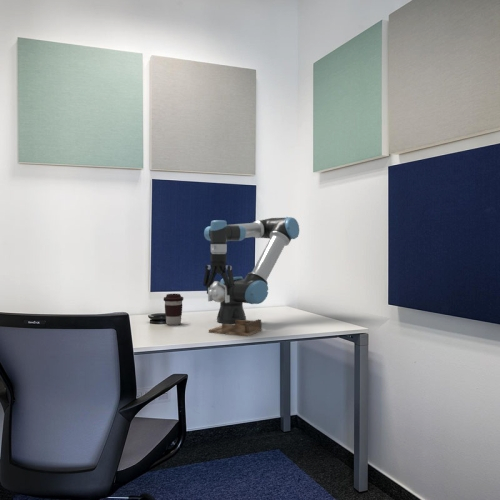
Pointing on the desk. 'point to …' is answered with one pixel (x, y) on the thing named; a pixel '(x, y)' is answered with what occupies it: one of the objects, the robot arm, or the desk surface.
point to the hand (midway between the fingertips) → (218, 301)
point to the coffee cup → (173, 308)
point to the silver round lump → (217, 291)
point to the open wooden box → (239, 328)
